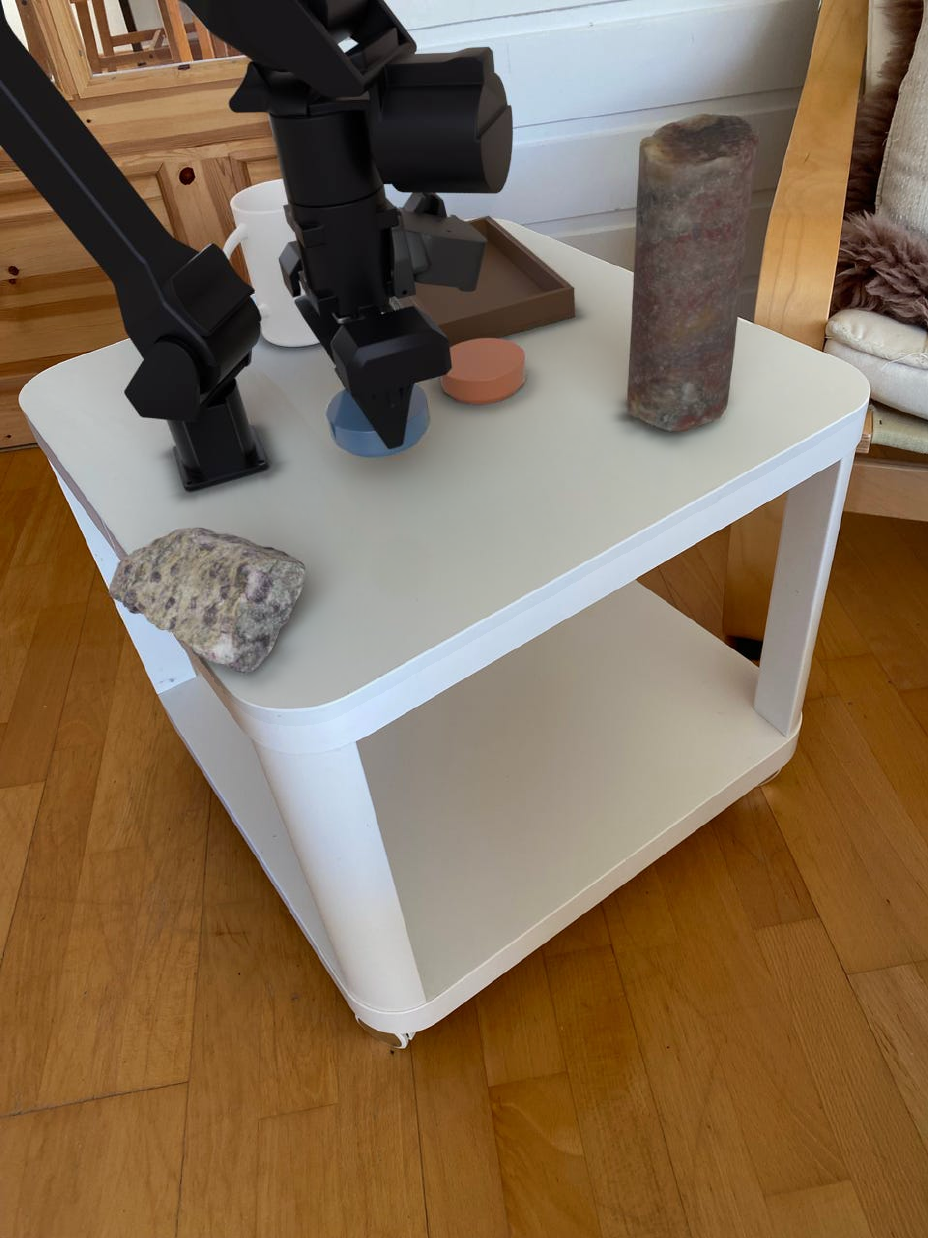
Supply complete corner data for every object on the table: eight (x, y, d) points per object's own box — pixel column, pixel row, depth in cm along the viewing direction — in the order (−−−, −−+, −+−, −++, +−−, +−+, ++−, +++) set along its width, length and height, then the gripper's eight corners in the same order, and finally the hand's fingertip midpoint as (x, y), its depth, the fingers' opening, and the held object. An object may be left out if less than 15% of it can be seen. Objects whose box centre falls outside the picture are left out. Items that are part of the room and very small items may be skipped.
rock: (266, 689, 54) (338, 561, 60) (209, 625, 50) (291, 495, 56) (114, 680, 61) (191, 565, 66) (53, 623, 57) (140, 506, 62)
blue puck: (445, 444, 65) (441, 413, 63) (347, 473, 63) (340, 442, 62) (413, 398, 70) (408, 368, 68) (322, 424, 68) (315, 394, 67)
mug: (264, 371, 83) (227, 235, 75) (215, 343, 88) (175, 212, 80) (370, 320, 88) (345, 187, 80) (318, 296, 93) (290, 169, 85)
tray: (575, 316, 85) (574, 287, 83) (437, 354, 82) (433, 325, 80) (491, 241, 99) (489, 215, 97) (371, 272, 96) (366, 245, 94)
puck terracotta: (540, 392, 76) (538, 365, 74) (459, 416, 74) (455, 389, 73) (506, 356, 81) (504, 329, 79) (429, 377, 79) (426, 351, 78)
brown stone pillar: (750, 417, 70) (785, 126, 56) (677, 456, 67) (694, 160, 54) (677, 380, 75) (693, 103, 61) (606, 414, 72) (606, 134, 59)
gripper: (526, 206, 50) (540, 454, 61) (414, 120, 63) (442, 337, 74) (324, 257, 48) (376, 505, 58) (252, 157, 61) (305, 374, 72)
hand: (379, 421), depth 66 cm, fingers closed on blue puck, 7 cm apart
